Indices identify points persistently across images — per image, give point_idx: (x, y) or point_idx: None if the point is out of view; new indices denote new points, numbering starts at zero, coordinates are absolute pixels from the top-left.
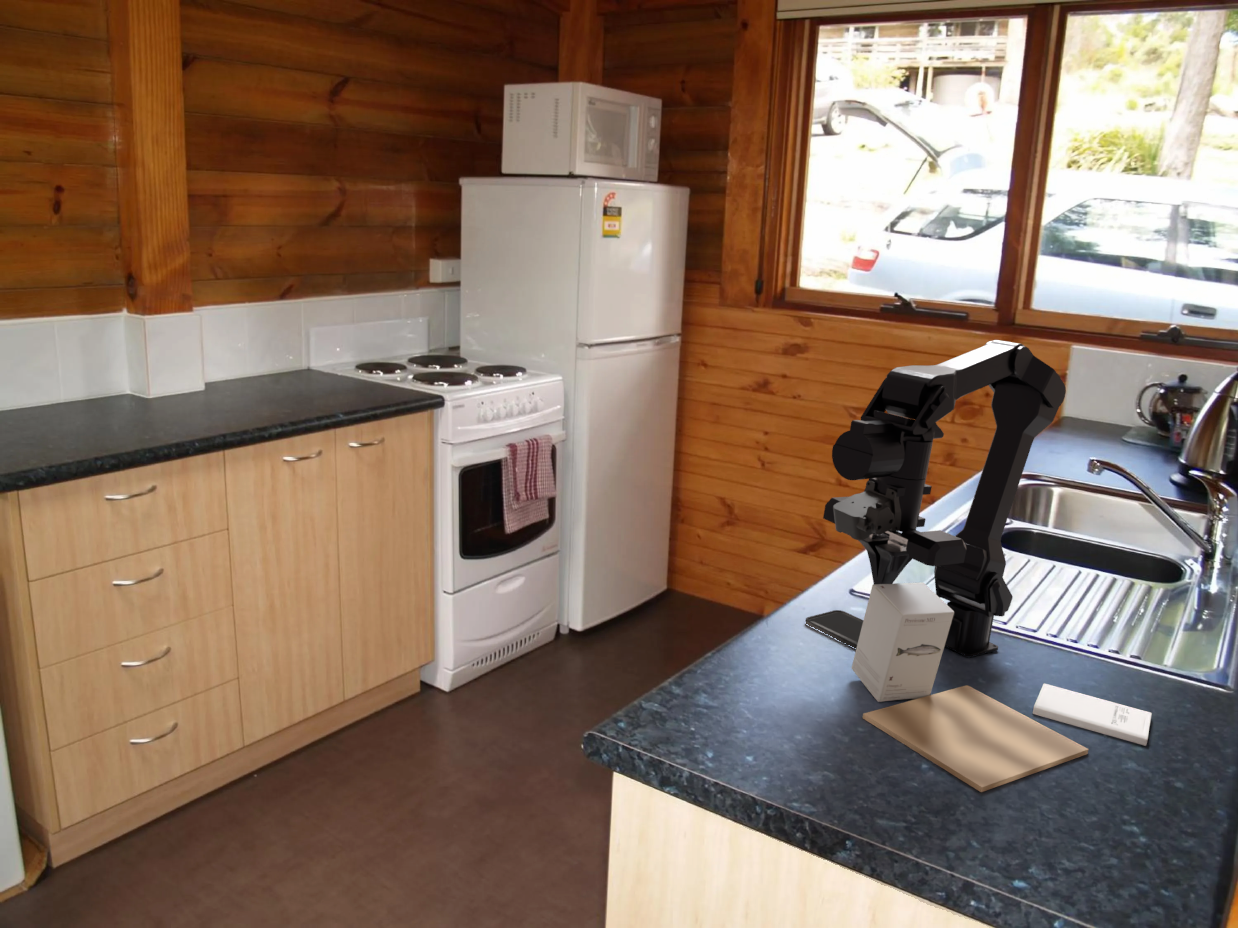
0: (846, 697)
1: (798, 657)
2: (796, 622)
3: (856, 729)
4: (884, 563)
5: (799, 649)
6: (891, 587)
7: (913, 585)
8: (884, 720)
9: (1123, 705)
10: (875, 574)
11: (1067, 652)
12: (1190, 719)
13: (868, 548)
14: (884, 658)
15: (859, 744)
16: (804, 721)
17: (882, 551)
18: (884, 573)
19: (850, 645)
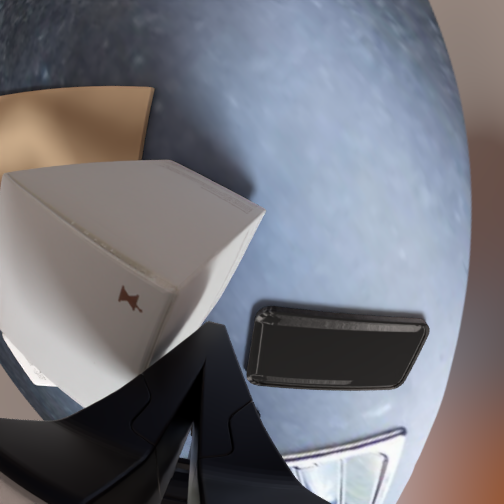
0: (218, 126)
1: (378, 198)
2: (436, 314)
3: (141, 53)
4: (119, 415)
5: (393, 230)
6: (114, 328)
7: None
8: (118, 101)
9: (45, 383)
10: (216, 375)
11: None
12: (35, 395)
13: (262, 497)
14: (134, 167)
15: (117, 29)
16: (211, 3)
17: (21, 448)
18: (140, 374)
19: (335, 314)
